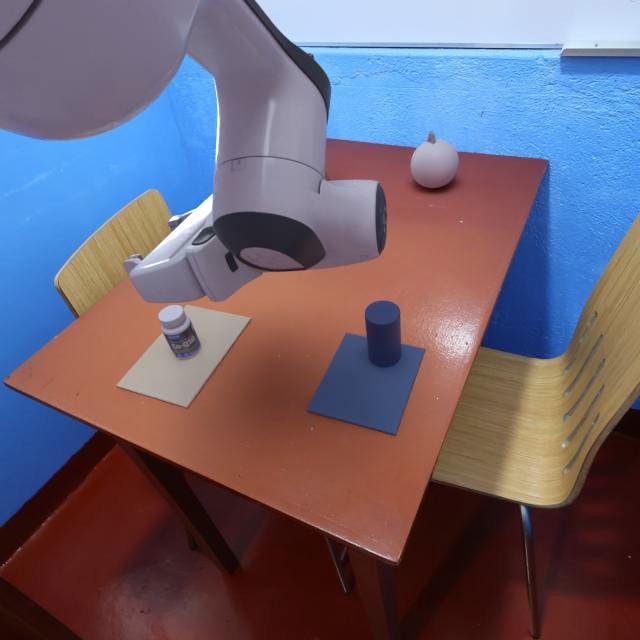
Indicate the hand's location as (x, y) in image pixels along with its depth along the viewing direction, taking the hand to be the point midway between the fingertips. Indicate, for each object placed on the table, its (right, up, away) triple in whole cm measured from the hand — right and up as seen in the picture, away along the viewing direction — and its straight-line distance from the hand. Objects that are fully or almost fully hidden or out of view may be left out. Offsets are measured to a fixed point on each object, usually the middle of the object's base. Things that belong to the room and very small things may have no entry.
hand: (151, 243), depth 58 cm
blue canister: (+31, -15, +14) cm, 37 cm away
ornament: (+47, +22, +51) cm, 73 cm away
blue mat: (+28, -18, +12) cm, 35 cm away
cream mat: (-1, -15, +21) cm, 26 cm away
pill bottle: (-1, -14, +21) cm, 26 cm away
